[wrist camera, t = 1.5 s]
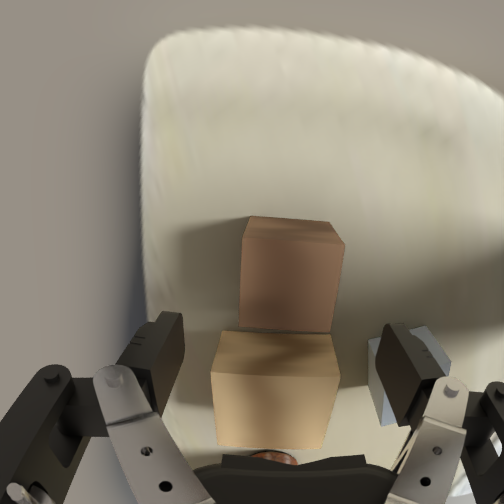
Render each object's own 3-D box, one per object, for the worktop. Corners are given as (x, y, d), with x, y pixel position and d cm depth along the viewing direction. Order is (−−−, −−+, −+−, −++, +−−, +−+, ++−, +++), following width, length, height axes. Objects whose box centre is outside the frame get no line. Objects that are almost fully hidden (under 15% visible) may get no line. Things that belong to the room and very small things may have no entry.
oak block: (330, 333, 22) (340, 376, 17) (316, 405, 25) (320, 448, 20) (222, 329, 23) (210, 372, 18) (226, 402, 25) (217, 444, 20)
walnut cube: (328, 221, 19) (345, 245, 15) (319, 292, 21) (329, 332, 16) (250, 215, 20) (242, 237, 15) (246, 287, 21) (238, 326, 17)
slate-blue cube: (425, 324, 21) (451, 361, 17) (420, 370, 23) (440, 408, 18) (367, 338, 22) (384, 381, 17) (367, 384, 23) (381, 426, 19)
